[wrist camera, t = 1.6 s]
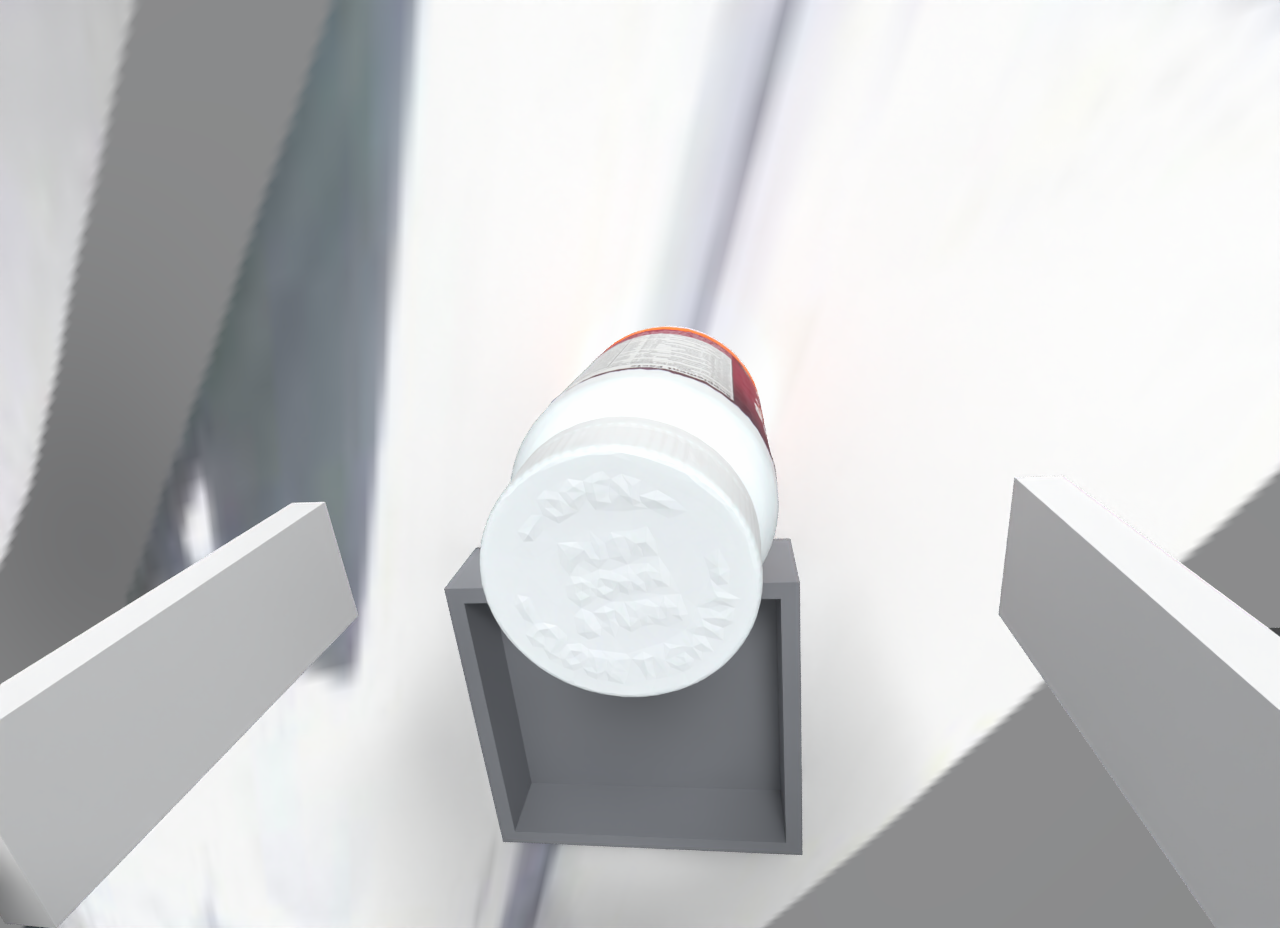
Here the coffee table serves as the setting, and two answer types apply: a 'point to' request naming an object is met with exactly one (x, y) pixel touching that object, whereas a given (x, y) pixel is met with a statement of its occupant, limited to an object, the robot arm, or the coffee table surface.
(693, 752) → the tray
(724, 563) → the pill bottle
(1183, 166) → the coffee table surface
